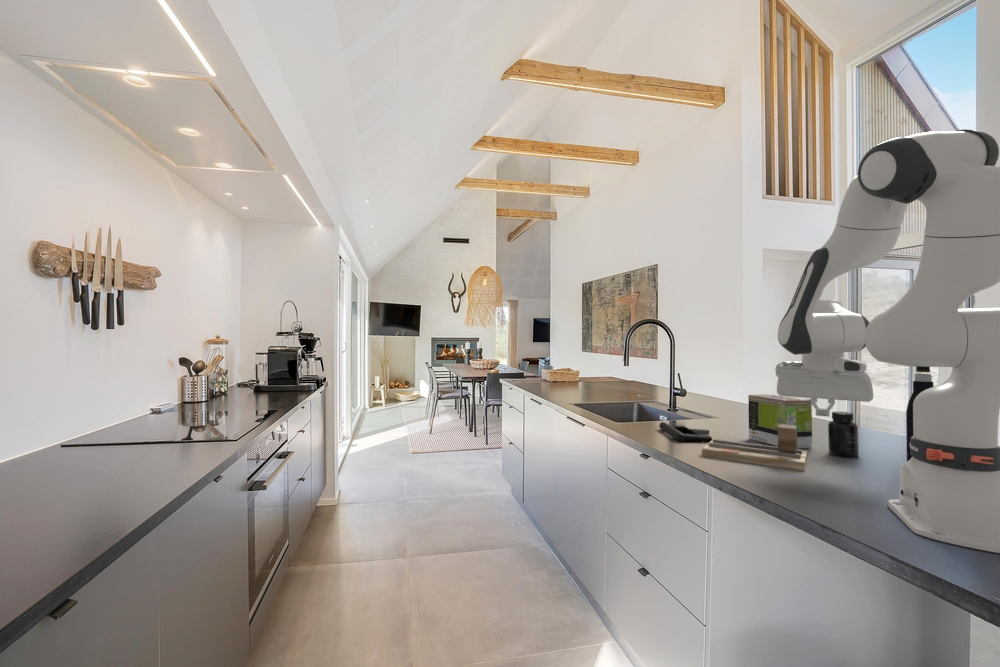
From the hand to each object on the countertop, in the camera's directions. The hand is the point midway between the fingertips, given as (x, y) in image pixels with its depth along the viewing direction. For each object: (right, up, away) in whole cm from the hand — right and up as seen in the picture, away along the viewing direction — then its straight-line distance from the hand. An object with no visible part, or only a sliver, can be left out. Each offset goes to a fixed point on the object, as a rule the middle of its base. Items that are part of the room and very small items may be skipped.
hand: (822, 415), depth 116 cm
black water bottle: (+23, -13, -4) cm, 26 cm away
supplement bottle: (+13, -13, +10) cm, 22 cm away
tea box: (+4, -14, +25) cm, 29 cm away
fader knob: (-6, -11, +4) cm, 13 cm away
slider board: (-13, -13, +9) cm, 20 cm away
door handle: (-20, -14, +36) cm, 43 cm away
